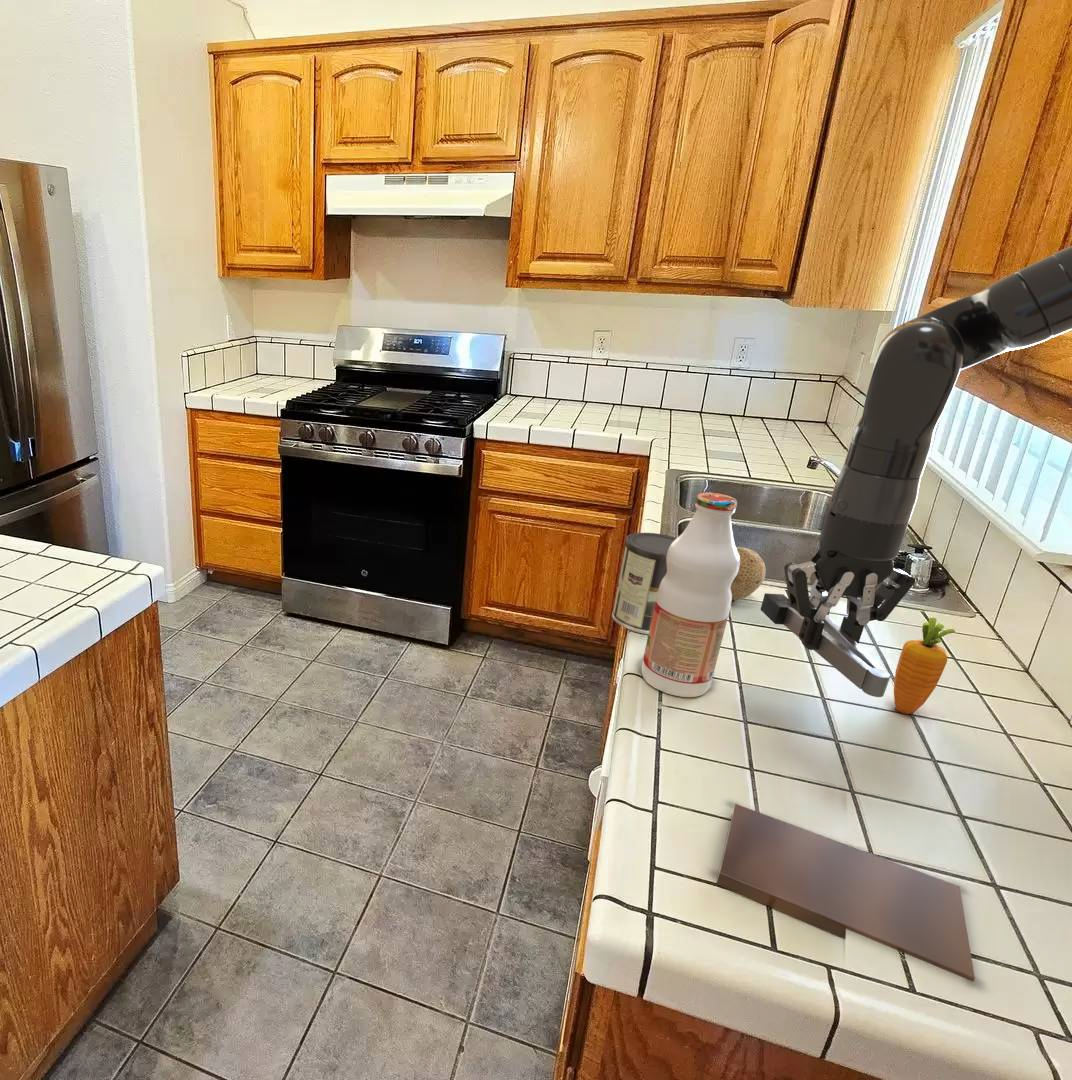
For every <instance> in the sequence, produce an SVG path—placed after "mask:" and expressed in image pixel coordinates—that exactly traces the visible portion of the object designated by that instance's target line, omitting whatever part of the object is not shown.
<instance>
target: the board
mask: <svg viewBox="0 0 1072 1080" xmlns="http://www.w3.org/2000/svg"><path fill="white" fill-rule="evenodd" d="M733 806H734V807H733V810H732V813H731V818H730V822H729V827H728V832H727V835H726V839H725V844H724V848H723V852H722V857H721V862H720V866H719V870H718V875H717V879H716V883H715V884H716V885H717V886H719V887H722V888H724V889H725V890H728V891H731V892H734V893H735V894H738V895H740V896H743V897H745V898H748V899H750V900H752V901H755V902H757V903H760V904H761V905H765V906H766V907H769V908H771V909H774V910H777V911H778V912H781V913H783V914H786V915H788V916H790V917H793V918H795V919H798V920H800V921H803V922H804V923H807V924H809V925H812V926H814V927H816V928H819V929H821V930H823V931H826V932H829V933H831V934H832V935H833V934H834V935H835V936H838V937H840V938H843V939H845V940H846V938H847V936H846V935H847V930H848V931H851V932H853V933H856V934H858V935H860V936H862V937H865V938H867V939H870V940H872V941H874V942H876V943H879V944H882V945H884V946H887V947H890V948H891V949H894V950H897V951H899V952H901V953H903V954H906V955H908V956H911V957H913V958H916V959H918V960H920V961H923V962H926V963H928V964H929V965H933V966H935V967H937V968H940V969H941V970H945V971H947V972H949V973H952V974H953V975H954V974H955V975H957V976H959V977H961V978H963V979H966V980H968V981H971V982H974V981H975V978H976V977H975V971H974V965H973V959H972V953H971V947H970V941H969V934H968V929H967V923H966V917H965V912H964V911H965V910H964V904H963V899H962V892H961V887H960V885H957V884H955V883H952V882H950V881H947V880H944V879H941V878H938V877H936V876H934V875H930V874H928V873H925V872H922V871H919V870H917V869H914V868H911V867H909V866H906V865H903V864H901V863H898V862H895V861H893V860H889V859H888V858H885V857H882V856H878V855H876V854H873V853H871V852H868V851H865V850H862V849H860V848H857V847H854V846H851V845H849V844H846V843H844V842H841V841H839V840H836V839H833V838H830V837H828V836H824V835H822V834H819V833H817V832H814V831H811V830H808V829H806V828H802V827H800V826H798V825H795V824H792V823H790V822H786V821H784V820H781V819H779V818H776V817H773V816H770V815H768V814H764V813H763V812H760V811H757V810H754V809H751V808H749V807H746V806H743V805H740V804H737V803H735V804H734V805H733Z"/></svg>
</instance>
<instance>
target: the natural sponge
mask: <svg viewBox="0 0 1072 1080" xmlns="http://www.w3.org/2000/svg"><path fill="white" fill-rule="evenodd" d="M736 549H737V551H738V553H739V556H740V566H739V571H738V573H737V575H736V577H735V579H734V580H733V582H732V583H731V588H730V589H731V593H732V601H740V600H743V599H746V598H747V597H749V596H751V595H752V594H754V592H756V590H758V589H759V588H760V587H761V585H762V584H763V582H764V580H765V578H766V571H767V569H766V563H765V562H764V560H763V558H762V557H761V556H760V555H759V554H758V553H757V552H756V551H755V550H753V549H750V548H747V547H740V546H738V547H737V546H736Z"/></svg>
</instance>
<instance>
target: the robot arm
mask: <svg viewBox="0 0 1072 1080" xmlns="http://www.w3.org/2000/svg"><path fill="white" fill-rule="evenodd" d="M1069 331H1072V245H1070V246H1067V247H1065V248H1063V249H1061V250H1059V251H1057V252H1054V253H1052V254H1051V255H1047V256H1046V257H1044V258H1042V259H1039V260H1037V261H1035V262H1033V263H1031V264H1029V265H1027V266H1025V267H1023V268H1021V269H1018V270H1016V271H1015V272H1013V273H1010V274H1009V275H1007V276H1005V277H1004V276H1003V278H1000V279H999V280H997V281H995V282H994V283H992V284H990V285H988V286H987V287H985V288H983V289H982V290H979V291H977V292H974V293H973V294H969V295H967V296H965V297H963V298H960V299H957V300H955V301H953V302H949V303H947V304H945V305H943V306H940V307H938V308H936V309H933V310H931V311H929V312H926V313H924V314H922V315H918V316H916V317H915V318H912V319H910V320H908V321H906V322H904V323H901V324H900V325H898V326H896V327H895V328H893V329H892V330H891V331H890V332H888V333H887V334H886V335H885V336H884V337H883V339H882V340H881V341H880V344H879V345H878V347H877V351H876V354H875V360H874V363H873V368H872V371H871V375H870V380H869V383H868V387H867V391H866V396H865V399H864V405H863V408H862V413H861V417H860V418H859V419H858V421H857V423H856V426H855V428H854V431H853V433H852V436H851V438H850V441H849V445H848V449H847V452H846V455H845V458H844V461H843V462H844V463H843V466H842V468H841V469H840V473H839V475H838V476H837V479H836V481H835V483H834V487H833V490H832V493H831V496H830V500H829V504H828V506H827V510H826V513H825V517H824V521H823V524H822V527H821V530H820V534H819V538H818V549H817V550H816V552H815V553H814V554H813V555H812V557H811V558H810V561H806V562H803V563H799V564H795V563H794V562H792V561H791V562H787V563H786V564H785V565H784V568H783V569H784V576H785V583H786V589H787V596H788V597H787V598H788V599H789V604H790V606H791V607H792V608H793V609H795V610H796V611H797V612H798V613H799V614H800V615H801V616H802V617H804V619H803V623H802V626H801V629H800V633H799V637H798V640H800V641H801V642H800V643H801V644H802V645H803V647H804V648H806V649H807V650H808V651H814V650H816V649H817V647H818V644H819V641H820V638H821V634H822V631H823V628H824V625H825V623H824V622H823V621H824V619H825V618H826V616H827V614H828V612H829V611H830V612H831V609H832V608H833V607H836V606H837V605H838V603H839V601H840V599H841V598H842V597H845V598H846V615H847V616H845V615H844V616H843V618H842V621H841V624H840V626H839V627H840V628H842V629H843V630H844V631H845V632H846V633H847V634H848V635H849V636H850V637H851V638H852V639H853V640H854V641H855V642H856V643H857V644H858V645H860V644H859V643H860V640H861V637H862V635H863V632H864V628H865V626H866V625H868V624H869V622H872V621H878V622H883V621H885V620H886V619H887V618H888V617H889V616H890V614H891V613H892V612H893V611H894V609H895V608H896V607H897V606H898V605H899V603H900V602H901V601H902V600H903V598H904V597H905V596H906V595H907V593H908V592H909V591H910V590H911V589H912V587H913V586H914V585H915V583H916V579H915V578H914V577H913V576H912V575H910V574H908V573H907V572H905V571H904V570H902V569H900V568H895V566H894V561H893V560H894V559H895V558H897V557H898V556H899V553H900V550H901V547H902V544H903V542H904V538H905V535H906V532H907V529H908V527H909V523H910V522H911V521H910V520H911V518H912V515H913V512H914V509H915V506H916V503H917V500H918V495H919V489H920V483H921V479H922V476H923V473H924V470H925V467H926V465H927V462H928V458H929V455H930V453H931V449H932V445H933V442H934V437H935V432H936V428H937V425H938V423H939V421H940V419H941V418H942V415H943V412H944V410H945V408H946V406H947V404H948V401H949V399H950V397H951V395H952V393H953V390H954V388H955V385H956V383H957V380H958V377H959V375H960V372H961V371H963V370H965V369H968V368H970V367H972V366H975V365H977V364H979V363H982V362H984V361H986V360H988V359H991V358H992V357H995V356H997V355H1000V354H1003V353H1005V352H1009V351H1015V350H1020V349H1025V348H1028V347H1031V346H1032V347H1033V346H1035V345H1037V344H1040V343H1043V342H1045V341H1048V340H1050V339H1051V338H1055V337H1058V336H1060V335H1063V334H1064V333H1067V332H1069ZM813 574H814V576H815V578H816V579H815V581H814V582H813V584H812V585H811V588H810V591H809V585H808V584H810V583H811V582H812V580H811V579H812V575H813ZM878 586H879V587H878ZM876 587H878V588H877V589H876ZM809 596H810V597H809ZM830 612H829V613H830Z"/></svg>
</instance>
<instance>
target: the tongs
mask: <svg viewBox="0 0 1072 1080" xmlns="http://www.w3.org/2000/svg"><path fill="white" fill-rule="evenodd" d="M809 597H810V595H809ZM760 611H761V612H762V613H763V614H764V615H765V616H766V617H767V618H768V619H769V620H770V621H771V622H772V623H773V624H774V625H781V626H782V625H783V626H784V627H786V628H787V629H788V630H789V631H790V632H792V633H793V635H795V636H796V637H797V638H799V633H800V629H801V626H802V623H803V619H804V617H802V616H801V615H800V614H799V613H798V612H797V611H796V610H795V609H793V608H792V607H791V606H790V604H789V598H788V597H787V596H786V595H785V594H783V593H768V592H767V593H766V592H765V593H764V596H763V598H762V602H761V605H760ZM830 612H831V610H830V611H829V612H828V614H827V616H826V618H825V619H824V621H823V622H824V623H825V625H824V628H823V631H822V634H821V638H820V641H819V644H818V647H817V649H816V650H813V651H814V652H815V653H816V654H818V656H820V657H821V658H822V659H824V660H825V661H826V662H827V663H828V664H829V665H831V666H832V667H833V668H834V669H835V670H837V671H838V672H839V673H840V674H842V675H843V677H845V678H846V679H847V680H849V681H850V683H852V684H854V685H855V687H857V688H858V689H860V690H861V691H862V692H863V693H864V694H865V695H868V696H871V697H874V698H882V697H884V696H885V693H886V691H887V687H888V684H889V682H890V679H891V674H890V673H889V672H888V671H887V670H886V669H885V668H884V667H883V666H881V665H880V664H879V662H878V661H876V660H875V658H873V657H872V656H871V655H870V654H869V653H868V652H867V651H866V650H865V649H864V648H863V647H862V646H861V645H860V644H857V643H856V642H855V641H854V640H853V639H852V638H851V637H850V636H849V635H848V634H847V633H846V632H845V631H844V630H843V629H842V628H840V627H841V626H840V625H839V624H838V623H837V622H836V621H835V620H834V619H832V618H831V617H830V615H829V614H830Z"/></svg>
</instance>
